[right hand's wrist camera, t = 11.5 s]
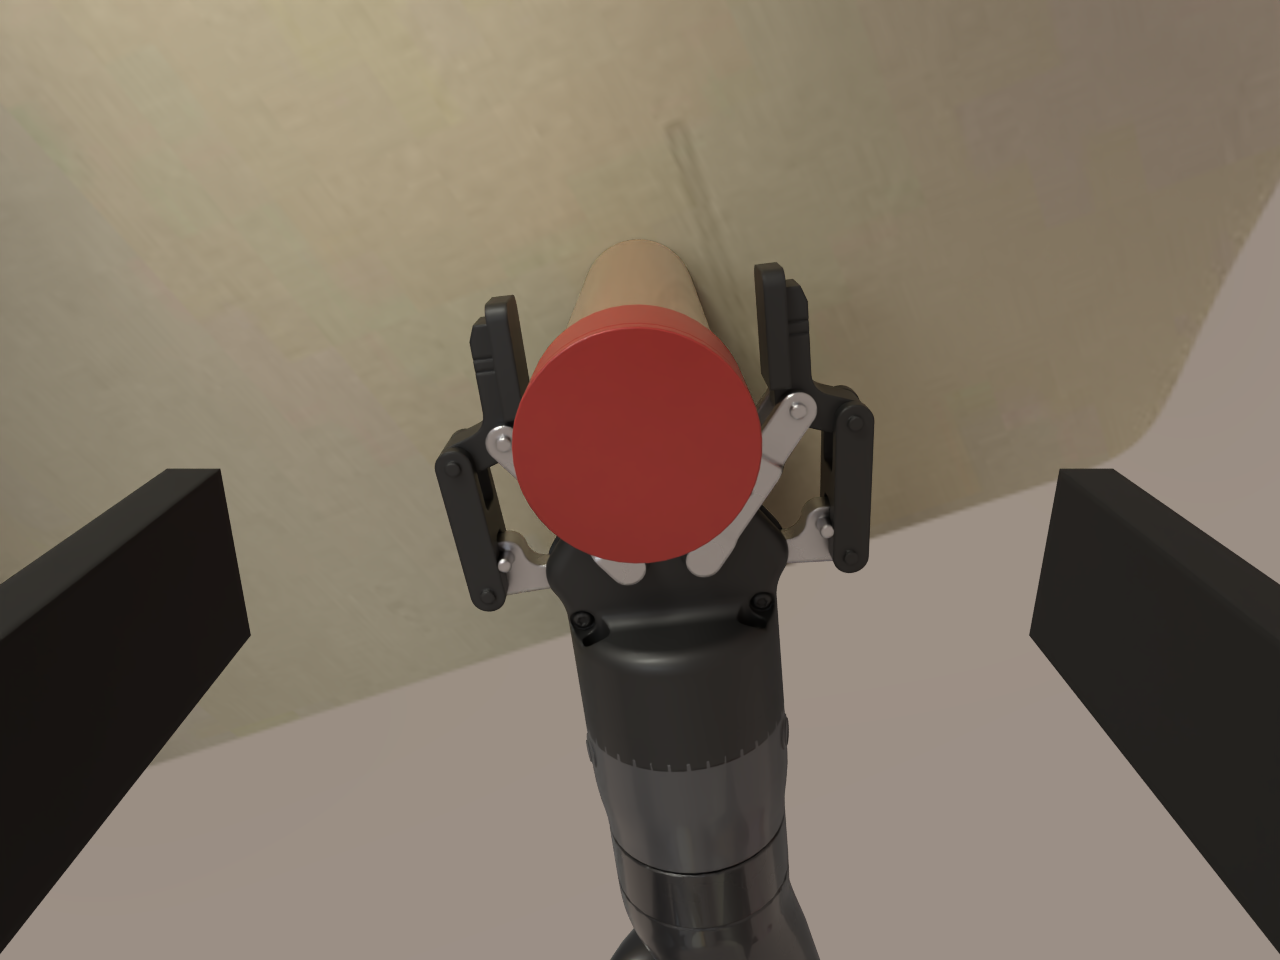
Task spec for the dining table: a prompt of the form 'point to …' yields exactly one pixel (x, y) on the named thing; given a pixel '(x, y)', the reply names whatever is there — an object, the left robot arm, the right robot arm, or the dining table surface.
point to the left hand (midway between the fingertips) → (633, 282)
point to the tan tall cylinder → (638, 281)
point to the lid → (637, 436)
